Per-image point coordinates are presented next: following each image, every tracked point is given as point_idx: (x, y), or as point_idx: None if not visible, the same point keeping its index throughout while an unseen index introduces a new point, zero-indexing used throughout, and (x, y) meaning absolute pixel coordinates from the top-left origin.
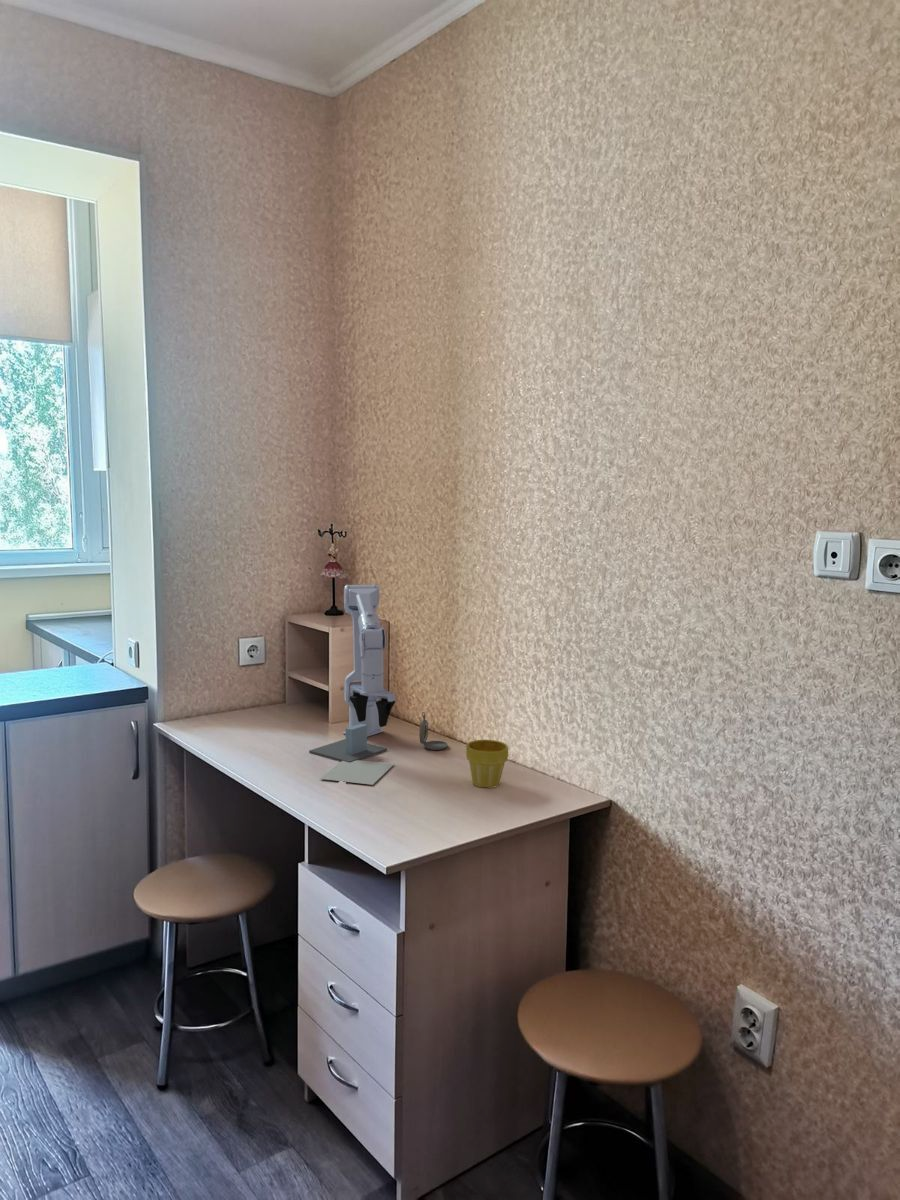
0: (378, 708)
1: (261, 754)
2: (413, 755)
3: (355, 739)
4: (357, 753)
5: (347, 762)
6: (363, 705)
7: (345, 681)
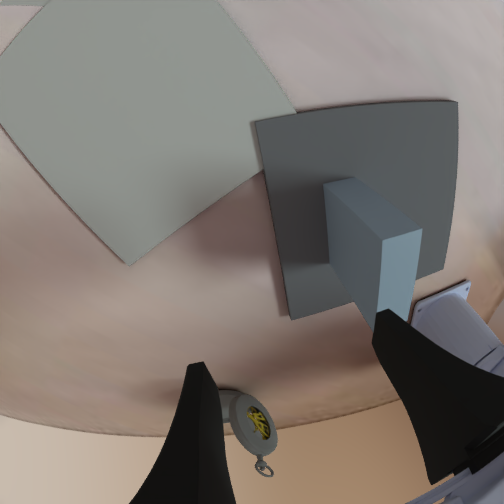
0: (182, 486)
1: (499, 10)
2: (193, 350)
3: (352, 235)
4: (321, 213)
5: (260, 115)
6: (421, 412)
7: None
